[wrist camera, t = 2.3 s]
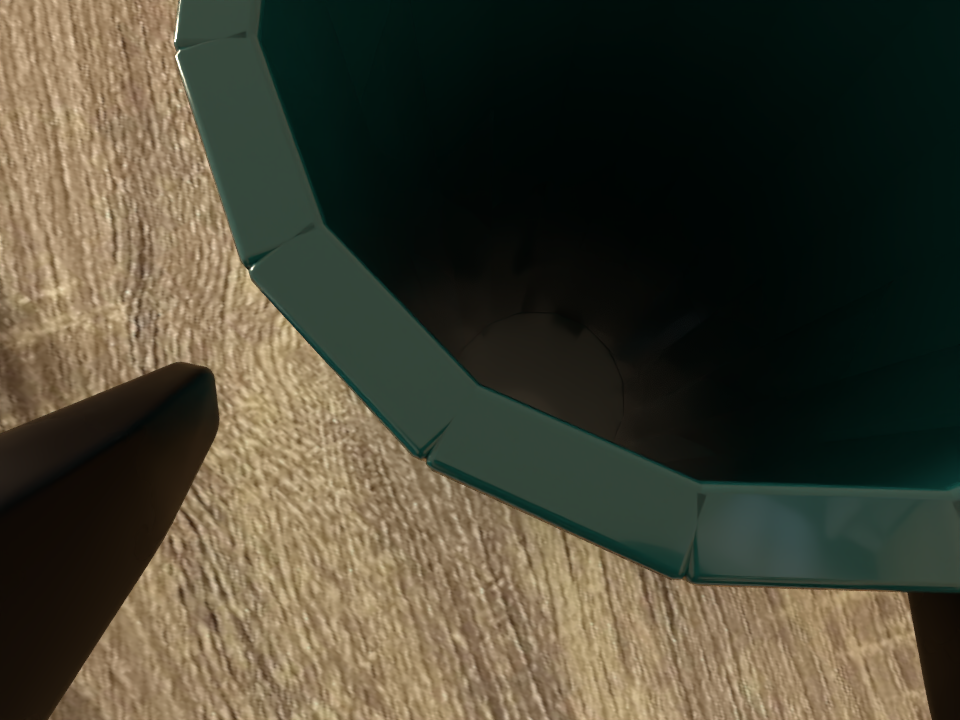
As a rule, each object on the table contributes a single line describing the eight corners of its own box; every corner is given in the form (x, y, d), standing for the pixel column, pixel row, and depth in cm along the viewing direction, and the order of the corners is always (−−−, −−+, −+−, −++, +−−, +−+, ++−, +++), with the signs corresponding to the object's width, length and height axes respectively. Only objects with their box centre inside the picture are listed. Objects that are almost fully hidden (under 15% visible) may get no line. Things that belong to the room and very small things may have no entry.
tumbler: (588, 531, 18) (1291, 861, 2) (406, 448, 18) (-60, 246, 3) (661, 350, 19) (1521, -307, 3) (486, 275, 19) (480, -614, 4)
